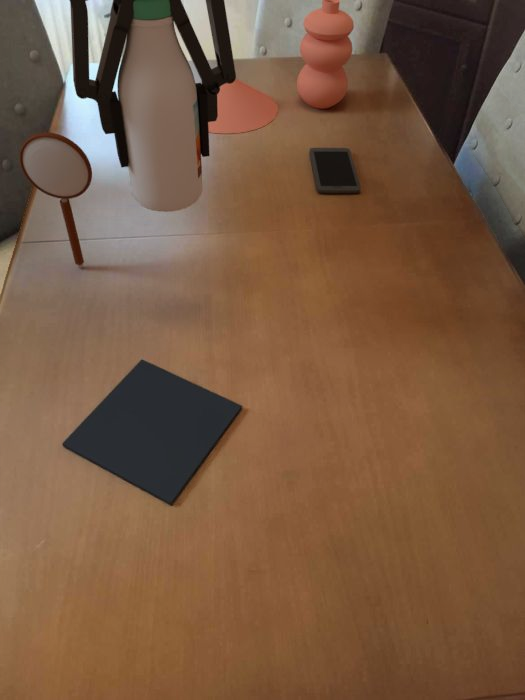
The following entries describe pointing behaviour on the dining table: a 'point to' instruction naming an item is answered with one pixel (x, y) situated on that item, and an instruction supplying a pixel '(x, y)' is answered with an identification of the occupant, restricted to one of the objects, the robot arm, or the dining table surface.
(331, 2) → the ceramic vessels
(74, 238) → the magnifying glass
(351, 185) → the cell phone
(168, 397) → the mat
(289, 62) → the dining table surface
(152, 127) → the milk bottle
